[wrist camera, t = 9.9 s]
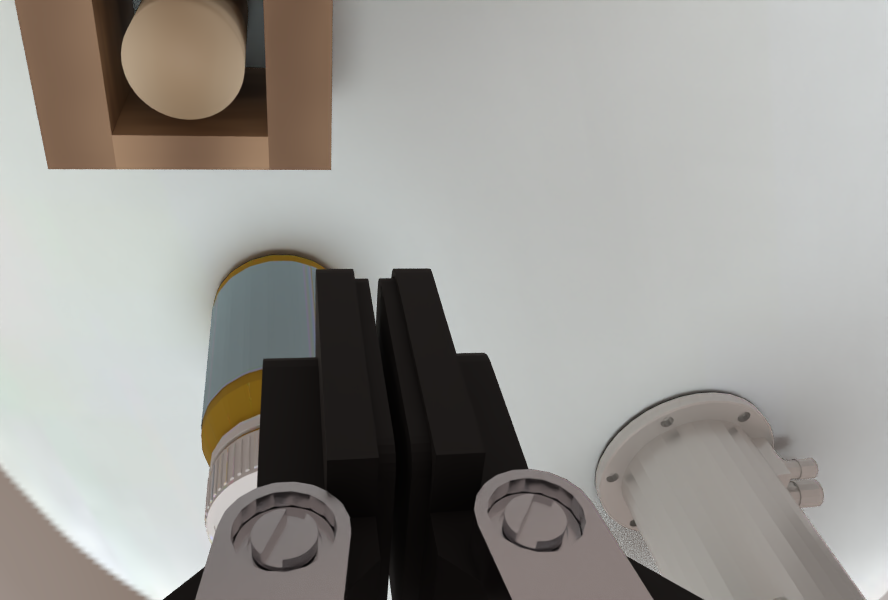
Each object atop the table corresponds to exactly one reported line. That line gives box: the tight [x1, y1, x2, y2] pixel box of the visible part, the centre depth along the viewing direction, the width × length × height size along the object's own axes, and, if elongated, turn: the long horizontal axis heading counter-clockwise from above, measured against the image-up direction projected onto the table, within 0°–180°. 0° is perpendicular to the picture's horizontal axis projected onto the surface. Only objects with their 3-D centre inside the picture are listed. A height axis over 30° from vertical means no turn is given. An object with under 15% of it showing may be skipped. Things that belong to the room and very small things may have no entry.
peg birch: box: [121, 0, 248, 120], centre depth 30 cm, size 4×4×8 cm
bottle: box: [201, 255, 325, 544], centre depth 37 cm, size 7×7×15 cm
